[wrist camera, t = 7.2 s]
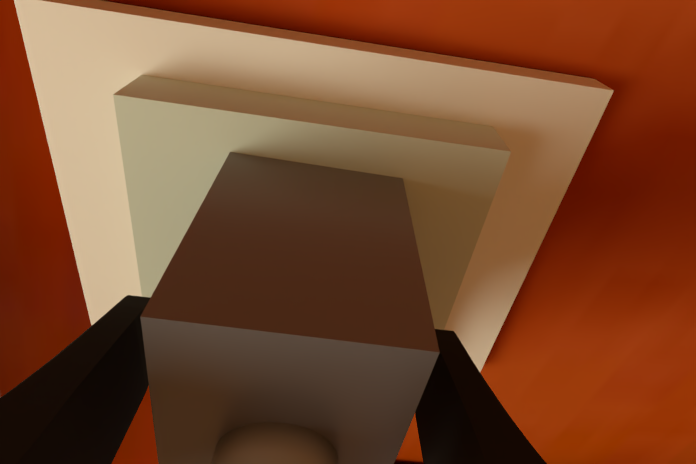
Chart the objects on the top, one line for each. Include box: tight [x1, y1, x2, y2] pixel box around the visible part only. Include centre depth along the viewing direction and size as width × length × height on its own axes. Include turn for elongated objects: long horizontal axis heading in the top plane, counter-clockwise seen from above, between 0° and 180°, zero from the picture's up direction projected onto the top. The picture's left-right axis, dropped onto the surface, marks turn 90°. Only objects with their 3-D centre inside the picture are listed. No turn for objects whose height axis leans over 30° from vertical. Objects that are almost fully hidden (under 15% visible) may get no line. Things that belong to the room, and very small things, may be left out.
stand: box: [14, 0, 614, 372], centre depth 15 cm, size 13×16×3 cm
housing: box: [140, 152, 440, 464], centre depth 11 cm, size 5×7×7 cm, turn 170°
